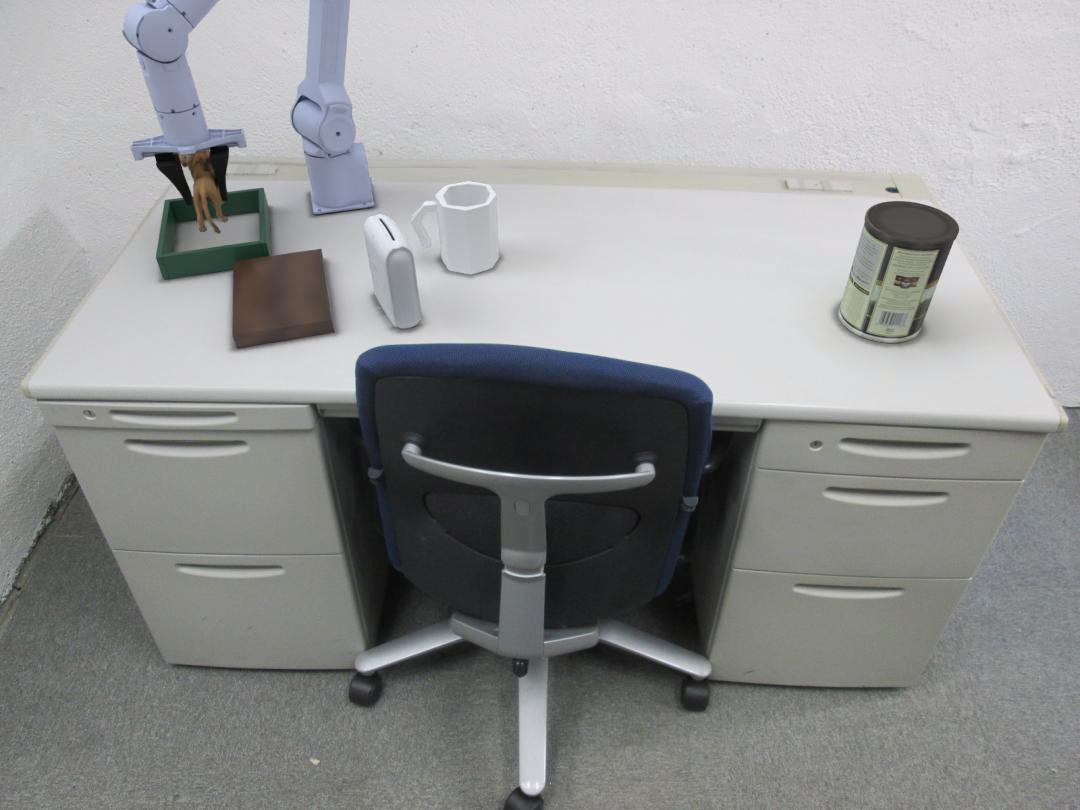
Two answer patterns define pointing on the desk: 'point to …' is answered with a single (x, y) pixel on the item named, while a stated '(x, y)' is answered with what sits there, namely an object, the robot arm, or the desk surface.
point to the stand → (280, 298)
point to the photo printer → (392, 271)
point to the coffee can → (896, 270)
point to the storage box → (214, 256)
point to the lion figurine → (204, 187)
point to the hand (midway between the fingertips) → (207, 200)
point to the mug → (463, 226)
